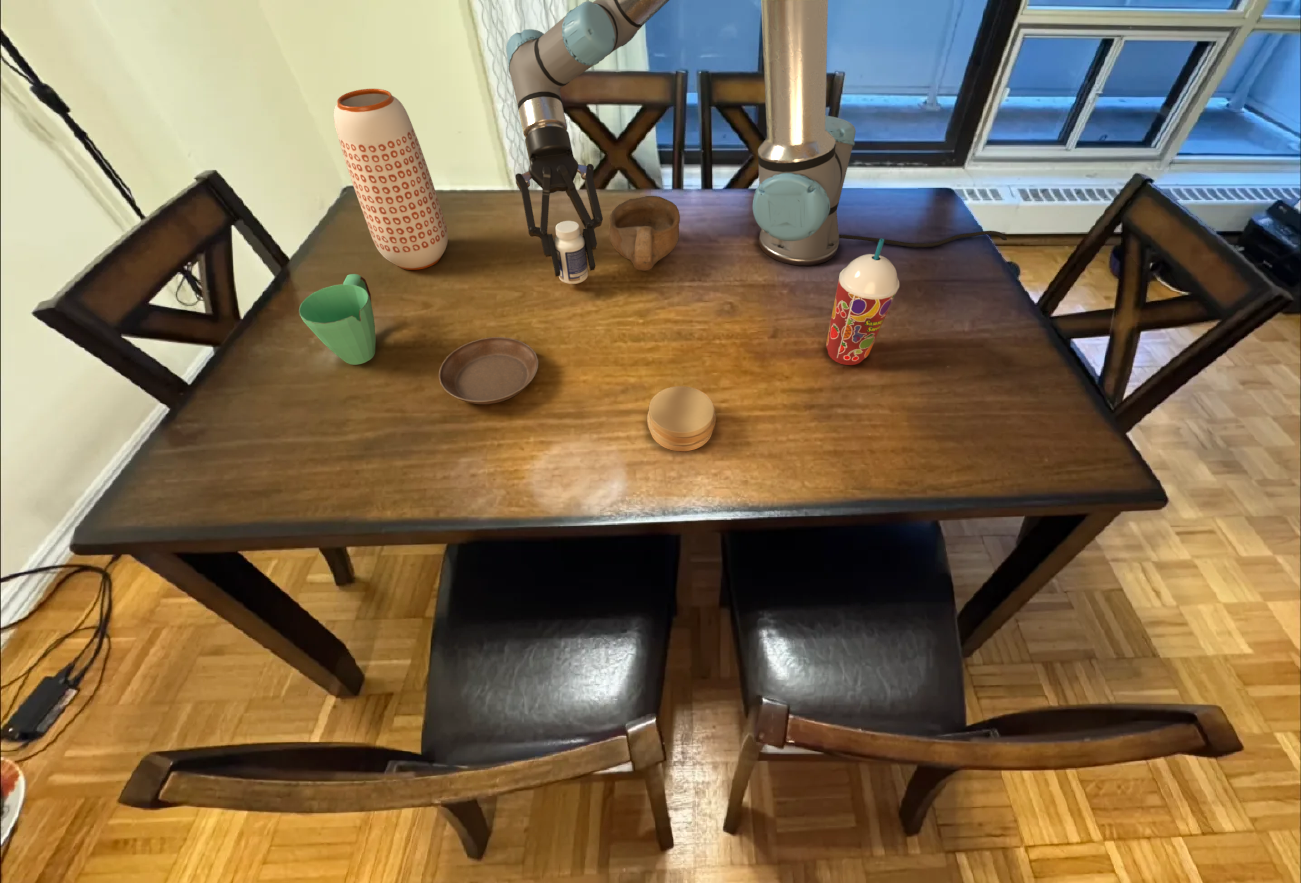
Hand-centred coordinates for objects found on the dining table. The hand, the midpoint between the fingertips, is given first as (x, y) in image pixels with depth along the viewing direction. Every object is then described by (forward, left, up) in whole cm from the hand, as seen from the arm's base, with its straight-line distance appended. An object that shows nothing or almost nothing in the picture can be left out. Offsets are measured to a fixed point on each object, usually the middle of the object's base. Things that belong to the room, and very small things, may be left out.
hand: (575, 271), depth 101 cm
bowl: (-13, -12, -5) cm, 18 cm away
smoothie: (-43, +19, -5) cm, 47 cm away
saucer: (+13, +21, -5) cm, 25 cm away
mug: (+35, +11, -5) cm, 37 cm away
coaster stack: (-15, +33, -5) cm, 37 cm away
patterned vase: (+31, -15, -5) cm, 35 cm away
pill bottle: (+1, -4, -4) cm, 5 cm away
